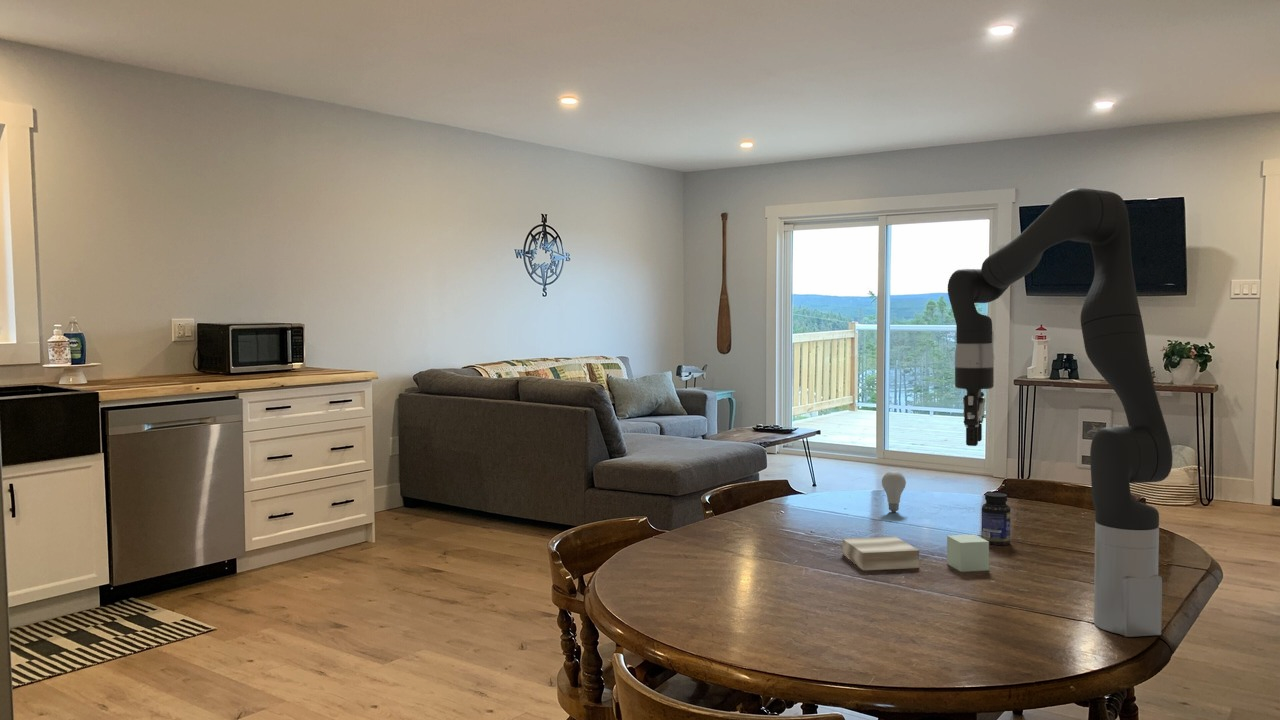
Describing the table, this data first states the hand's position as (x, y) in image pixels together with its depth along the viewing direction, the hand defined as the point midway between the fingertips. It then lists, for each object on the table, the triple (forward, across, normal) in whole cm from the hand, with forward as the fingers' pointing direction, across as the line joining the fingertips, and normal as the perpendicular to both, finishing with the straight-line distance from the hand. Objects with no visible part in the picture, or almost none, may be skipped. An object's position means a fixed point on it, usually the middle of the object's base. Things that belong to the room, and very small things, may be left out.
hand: (974, 443), depth 186 cm
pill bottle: (+25, +20, -3) cm, 33 cm away
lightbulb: (+25, +44, +24) cm, 56 cm away
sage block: (+25, -3, +1) cm, 26 cm away
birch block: (+26, -6, +18) cm, 32 cm away
